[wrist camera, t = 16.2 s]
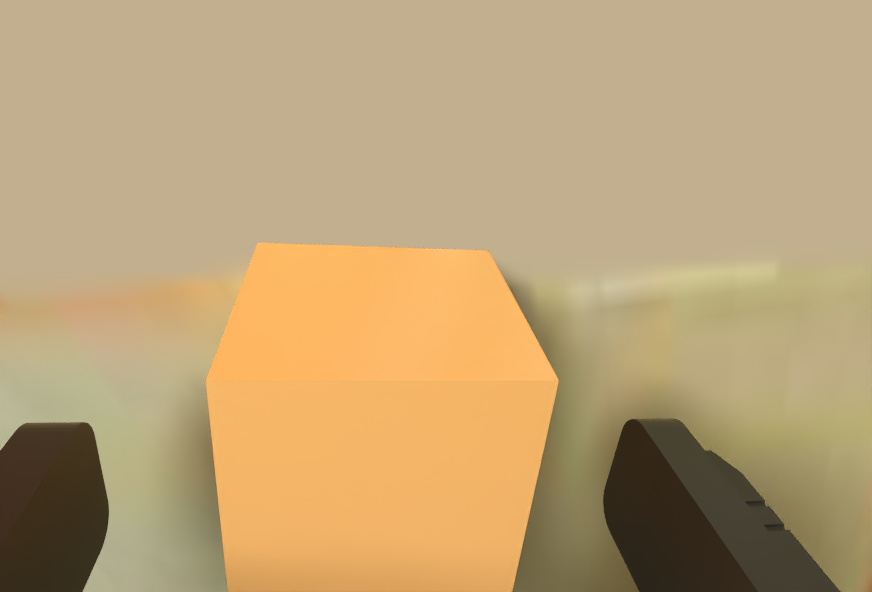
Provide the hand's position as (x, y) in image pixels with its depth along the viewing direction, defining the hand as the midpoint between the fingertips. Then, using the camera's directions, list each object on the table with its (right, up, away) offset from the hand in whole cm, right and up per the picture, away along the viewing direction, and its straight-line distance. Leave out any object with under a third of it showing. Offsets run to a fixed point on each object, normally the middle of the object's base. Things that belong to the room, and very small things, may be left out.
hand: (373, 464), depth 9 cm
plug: (-1, -4, +5) cm, 6 cm away
